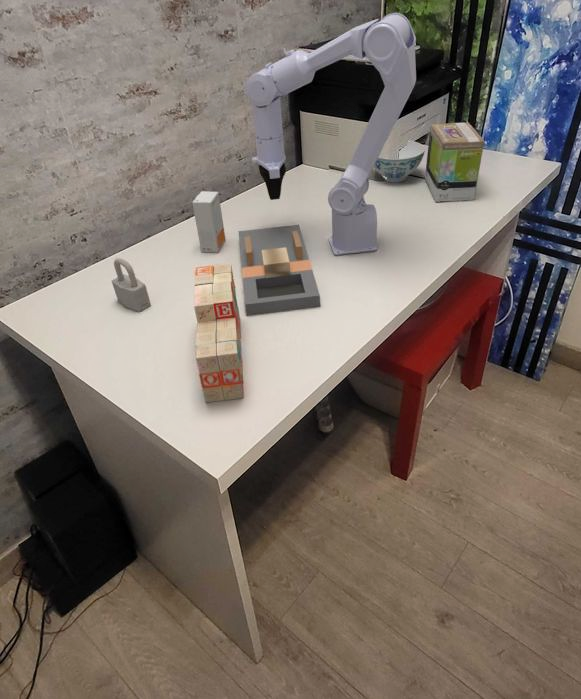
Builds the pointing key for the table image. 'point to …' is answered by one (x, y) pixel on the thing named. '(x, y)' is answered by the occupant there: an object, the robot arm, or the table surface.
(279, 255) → the birch block
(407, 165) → the chinaware
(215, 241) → the skincare box
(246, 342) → the table surface
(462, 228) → the table surface
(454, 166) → the tea box
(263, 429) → the table surface
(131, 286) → the padlock
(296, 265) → the tunnel deck
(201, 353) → the stack of blocks
